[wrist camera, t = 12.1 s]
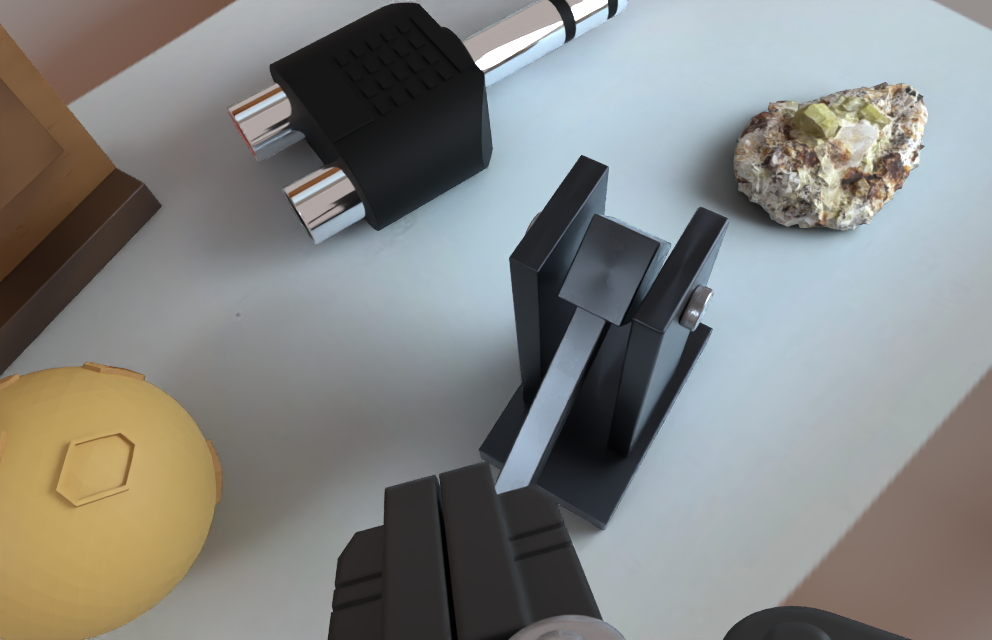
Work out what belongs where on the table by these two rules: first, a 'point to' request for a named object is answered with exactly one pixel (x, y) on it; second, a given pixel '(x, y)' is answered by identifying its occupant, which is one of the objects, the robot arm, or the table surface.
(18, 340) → the door
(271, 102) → the audio adapter
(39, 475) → the stress ball
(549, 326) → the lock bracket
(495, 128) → the table surface
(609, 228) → the lever
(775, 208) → the mineral rock
